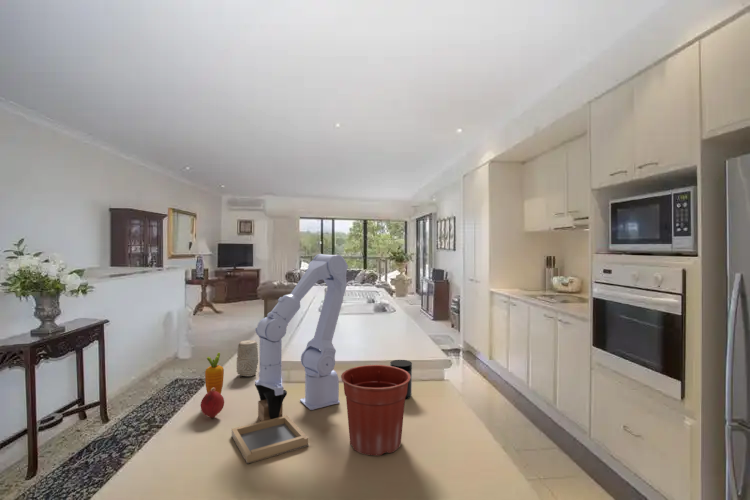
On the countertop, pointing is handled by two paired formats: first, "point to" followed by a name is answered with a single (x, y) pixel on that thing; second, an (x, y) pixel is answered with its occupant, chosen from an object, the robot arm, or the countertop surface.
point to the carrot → (214, 375)
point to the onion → (212, 403)
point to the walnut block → (265, 410)
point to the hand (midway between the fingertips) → (270, 413)
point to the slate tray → (268, 438)
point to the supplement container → (407, 367)
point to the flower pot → (375, 407)
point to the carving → (247, 358)
